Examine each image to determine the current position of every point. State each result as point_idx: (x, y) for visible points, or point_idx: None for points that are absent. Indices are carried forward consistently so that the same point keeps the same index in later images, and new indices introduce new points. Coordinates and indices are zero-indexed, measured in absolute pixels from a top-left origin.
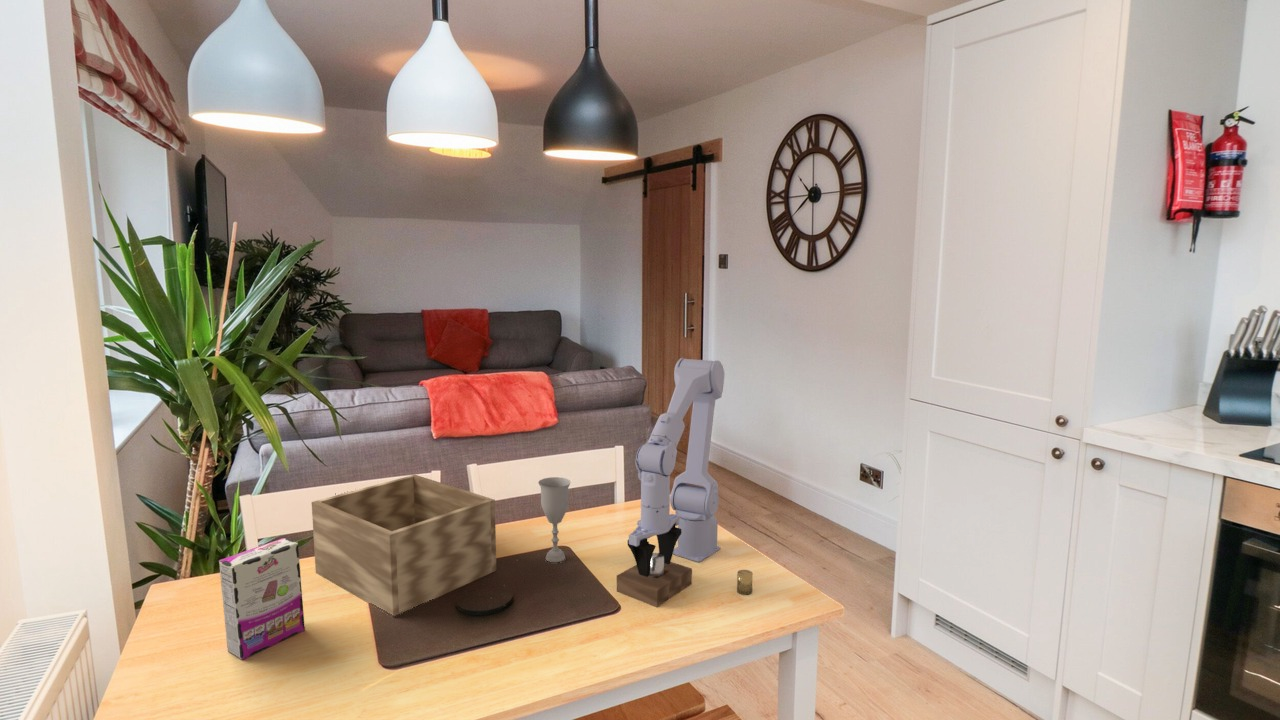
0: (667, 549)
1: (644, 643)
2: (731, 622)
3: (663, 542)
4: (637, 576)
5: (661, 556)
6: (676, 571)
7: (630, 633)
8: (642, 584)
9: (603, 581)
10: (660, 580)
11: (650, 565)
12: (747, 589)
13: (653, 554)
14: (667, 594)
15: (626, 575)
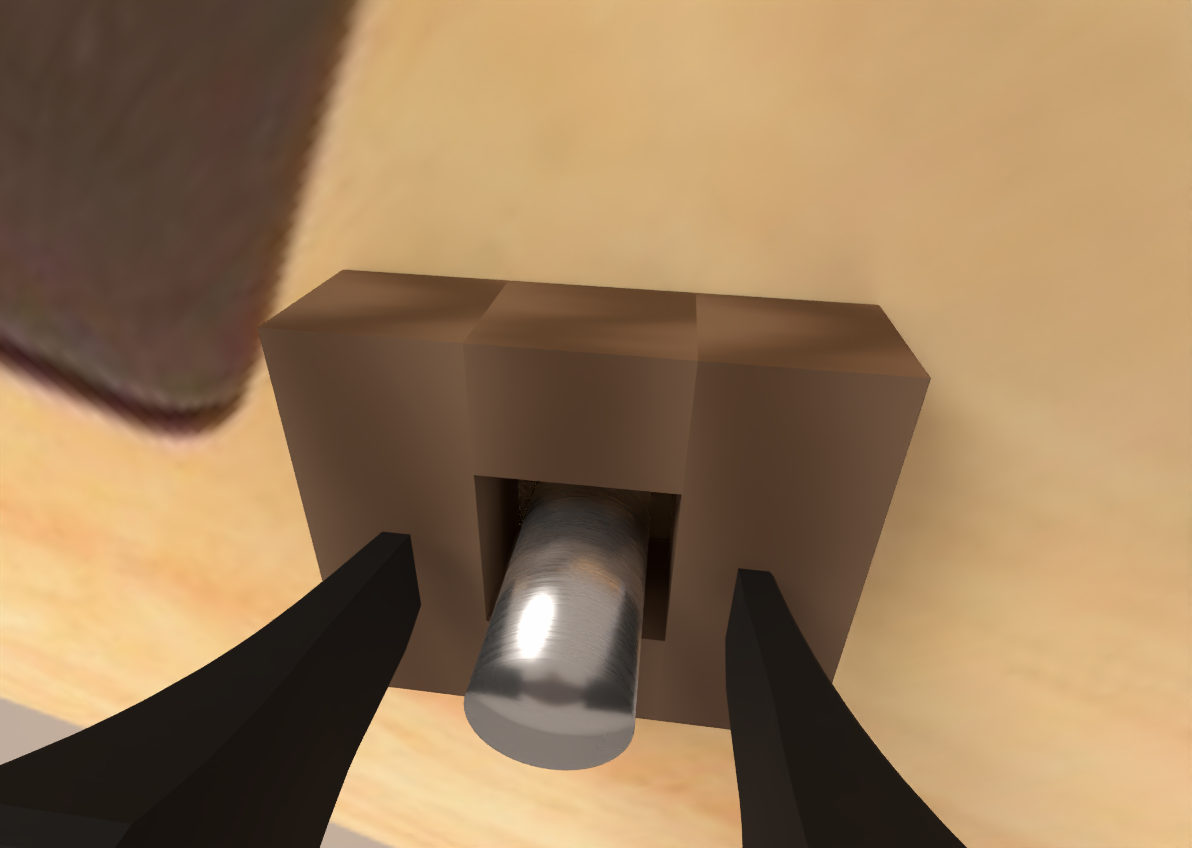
0: (746, 769)
1: (121, 663)
2: (535, 841)
3: (765, 807)
4: (398, 492)
5: (572, 752)
6: (696, 678)
7: (110, 589)
8: None
9: (401, 3)
10: (478, 650)
11: (376, 708)
12: None
13: (558, 686)
14: None
15: (335, 405)
